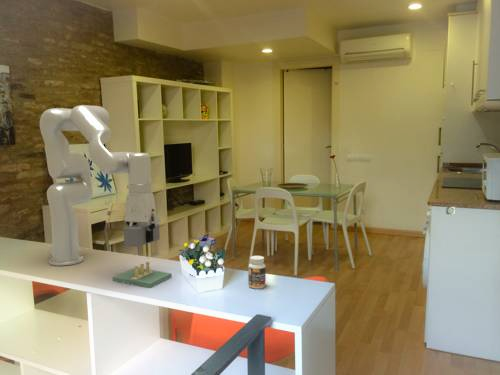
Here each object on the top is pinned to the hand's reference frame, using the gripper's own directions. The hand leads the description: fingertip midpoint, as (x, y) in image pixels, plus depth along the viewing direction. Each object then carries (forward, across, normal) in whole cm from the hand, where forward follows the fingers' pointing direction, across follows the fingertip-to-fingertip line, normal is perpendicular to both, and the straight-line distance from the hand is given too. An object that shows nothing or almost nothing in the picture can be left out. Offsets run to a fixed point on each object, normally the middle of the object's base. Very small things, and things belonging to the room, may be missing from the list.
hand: (142, 240), depth 153 cm
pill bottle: (+15, +38, +11) cm, 43 cm away
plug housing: (+1, 0, 0) cm, 1 cm away
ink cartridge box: (+14, +14, +16) cm, 26 cm away
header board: (+14, 0, 0) cm, 14 cm away
